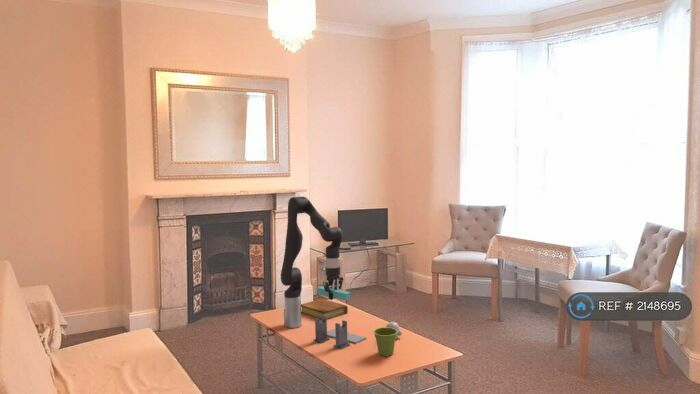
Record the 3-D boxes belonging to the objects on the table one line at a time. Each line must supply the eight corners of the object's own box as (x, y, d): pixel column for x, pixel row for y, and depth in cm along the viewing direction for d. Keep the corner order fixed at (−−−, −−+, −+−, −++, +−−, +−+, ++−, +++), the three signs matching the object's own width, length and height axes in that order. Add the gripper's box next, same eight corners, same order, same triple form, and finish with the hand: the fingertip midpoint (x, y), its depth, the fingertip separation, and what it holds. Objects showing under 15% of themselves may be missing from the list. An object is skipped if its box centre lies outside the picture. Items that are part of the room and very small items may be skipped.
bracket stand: (313, 341, 286) (312, 318, 285) (322, 337, 291) (321, 314, 290) (341, 349, 274) (340, 325, 273) (349, 345, 279) (349, 321, 278)
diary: (347, 314, 334) (347, 305, 333) (324, 321, 321) (324, 312, 321) (323, 307, 351) (323, 298, 350) (300, 313, 338) (300, 304, 337)
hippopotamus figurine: (380, 344, 287) (375, 330, 285) (395, 331, 294) (390, 317, 291) (389, 347, 282) (384, 334, 279) (404, 334, 288) (399, 320, 286)
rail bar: (317, 294, 288) (317, 287, 288) (321, 292, 291) (321, 286, 291) (345, 300, 275) (345, 293, 275) (350, 299, 278) (350, 292, 278)
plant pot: (369, 352, 269) (368, 330, 268) (389, 347, 275) (388, 325, 274) (382, 360, 259) (381, 337, 258) (402, 355, 264) (402, 332, 264)
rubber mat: (322, 335, 296) (322, 333, 296) (333, 330, 303) (333, 329, 303) (355, 343, 281) (355, 342, 281) (366, 338, 288) (366, 337, 288)
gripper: (336, 262, 290) (337, 294, 291) (318, 267, 279) (318, 300, 281) (347, 264, 285) (348, 296, 286) (328, 269, 274) (329, 303, 276)
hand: (333, 298), depth 283 cm, fingers closed on rail bar, 3 cm apart
